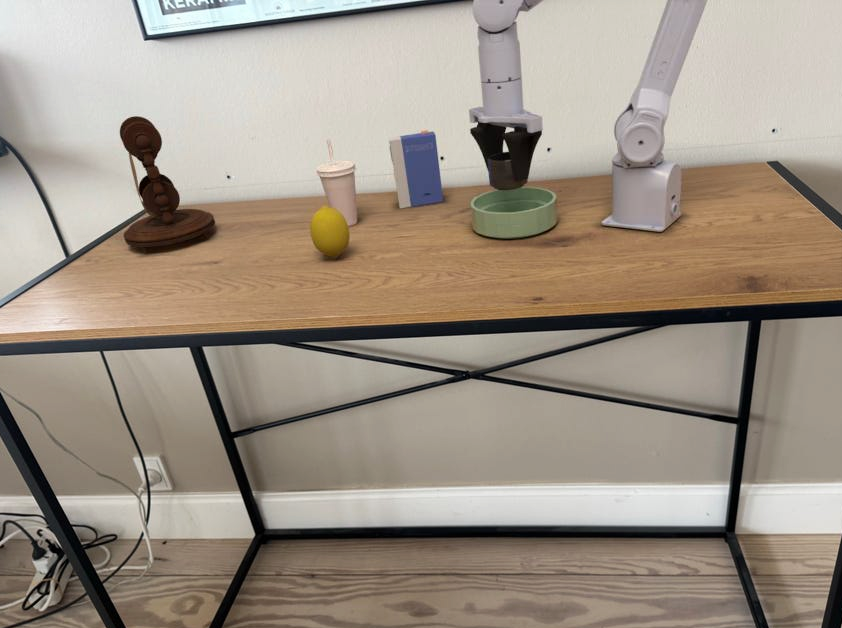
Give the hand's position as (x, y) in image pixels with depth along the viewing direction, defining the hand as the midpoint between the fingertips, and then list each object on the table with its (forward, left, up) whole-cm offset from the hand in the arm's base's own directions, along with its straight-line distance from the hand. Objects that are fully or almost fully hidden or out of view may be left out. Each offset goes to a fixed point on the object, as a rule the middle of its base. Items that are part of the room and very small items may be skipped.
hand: (508, 176), depth 104 cm
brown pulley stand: (+53, +24, -8) cm, 59 cm away
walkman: (+22, -6, -8) cm, 24 cm away
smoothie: (+28, +7, -8) cm, 30 cm away
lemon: (+18, +20, -8) cm, 29 cm away
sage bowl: (0, -1, -8) cm, 8 cm away
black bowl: (0, 0, -1) cm, 1 cm away
